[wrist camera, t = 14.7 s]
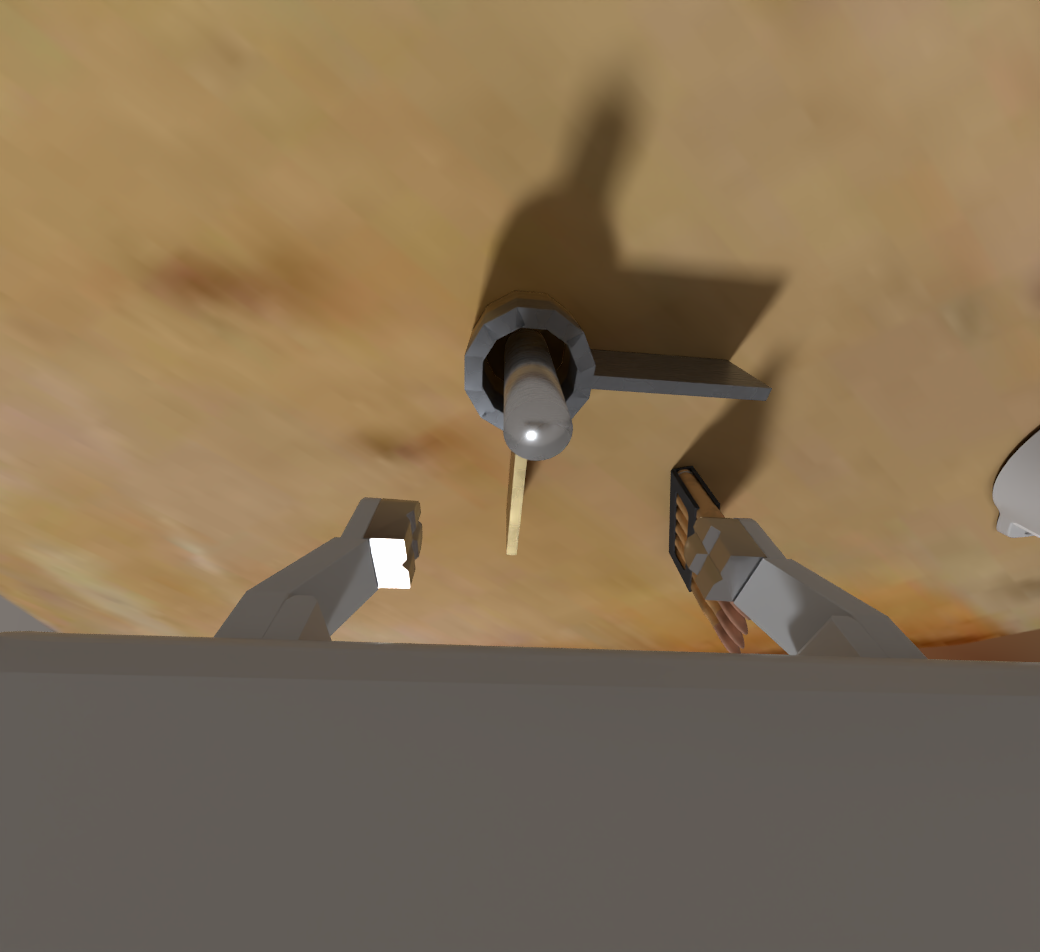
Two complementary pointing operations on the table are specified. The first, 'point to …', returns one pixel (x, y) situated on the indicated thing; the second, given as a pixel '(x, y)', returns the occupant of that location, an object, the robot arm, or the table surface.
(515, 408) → the hinge pin
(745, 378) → the steel leaf
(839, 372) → the table surface
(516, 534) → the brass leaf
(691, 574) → the ammunition clip
